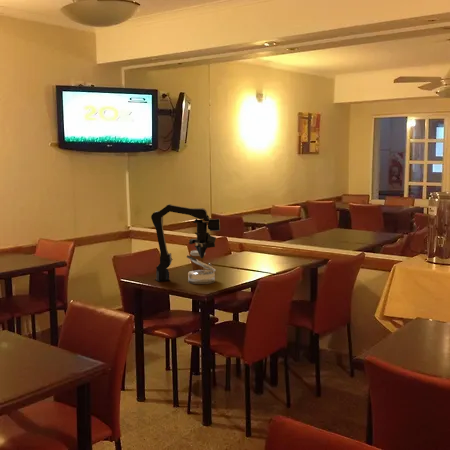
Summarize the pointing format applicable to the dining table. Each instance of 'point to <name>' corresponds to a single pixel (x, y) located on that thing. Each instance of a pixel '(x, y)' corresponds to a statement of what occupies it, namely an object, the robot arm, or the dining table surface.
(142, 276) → the dining table surface
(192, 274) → the pot
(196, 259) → the lid
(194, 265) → the disposable coffee cup
